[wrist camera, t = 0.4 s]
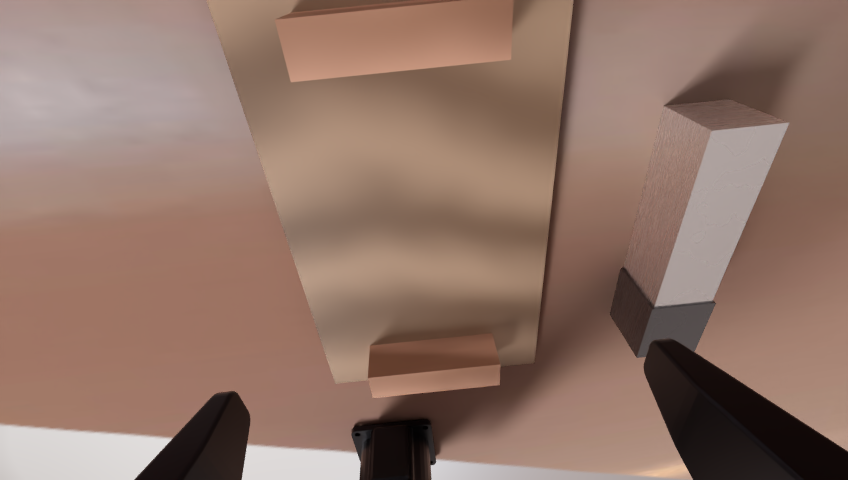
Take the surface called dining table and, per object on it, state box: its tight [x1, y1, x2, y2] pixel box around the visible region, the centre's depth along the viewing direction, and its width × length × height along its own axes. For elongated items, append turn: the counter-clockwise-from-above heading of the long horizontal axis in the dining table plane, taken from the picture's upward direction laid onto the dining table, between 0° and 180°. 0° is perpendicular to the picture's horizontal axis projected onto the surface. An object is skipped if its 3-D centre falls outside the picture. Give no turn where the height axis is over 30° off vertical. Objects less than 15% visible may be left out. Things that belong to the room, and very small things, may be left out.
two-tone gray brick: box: [610, 99, 789, 358], centre depth 22 cm, size 14×4×4 cm, turn 5°
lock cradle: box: [206, 0, 573, 398], centre depth 21 cm, size 24×14×4 cm, turn 5°
